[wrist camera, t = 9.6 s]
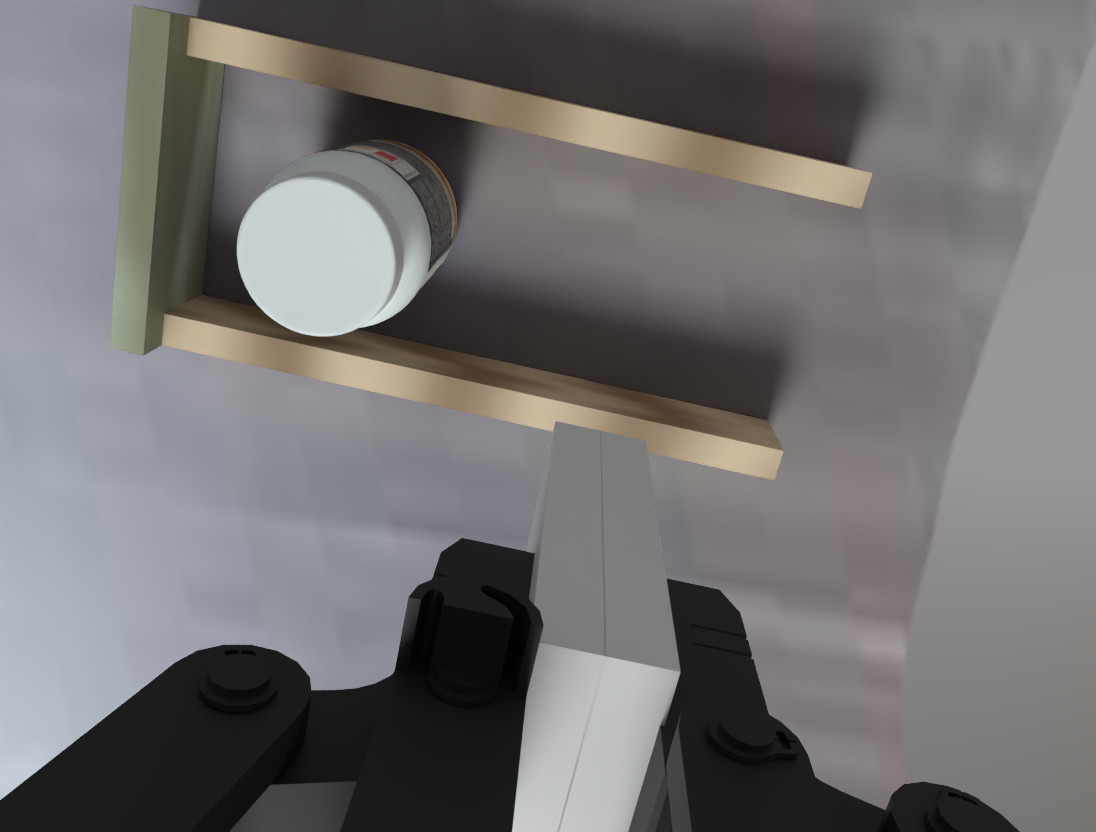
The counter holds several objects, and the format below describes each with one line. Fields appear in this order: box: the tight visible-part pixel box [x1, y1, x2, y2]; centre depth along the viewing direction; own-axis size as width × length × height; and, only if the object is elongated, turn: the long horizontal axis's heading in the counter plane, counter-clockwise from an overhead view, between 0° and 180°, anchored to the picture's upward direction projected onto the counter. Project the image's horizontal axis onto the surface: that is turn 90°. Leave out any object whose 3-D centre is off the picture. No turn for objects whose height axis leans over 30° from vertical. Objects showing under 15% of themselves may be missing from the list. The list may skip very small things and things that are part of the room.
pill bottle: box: [237, 139, 457, 336], centre depth 32 cm, size 6×6×10 cm
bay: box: [110, 5, 872, 480], centre depth 34 cm, size 24×11×5 cm, turn 78°
